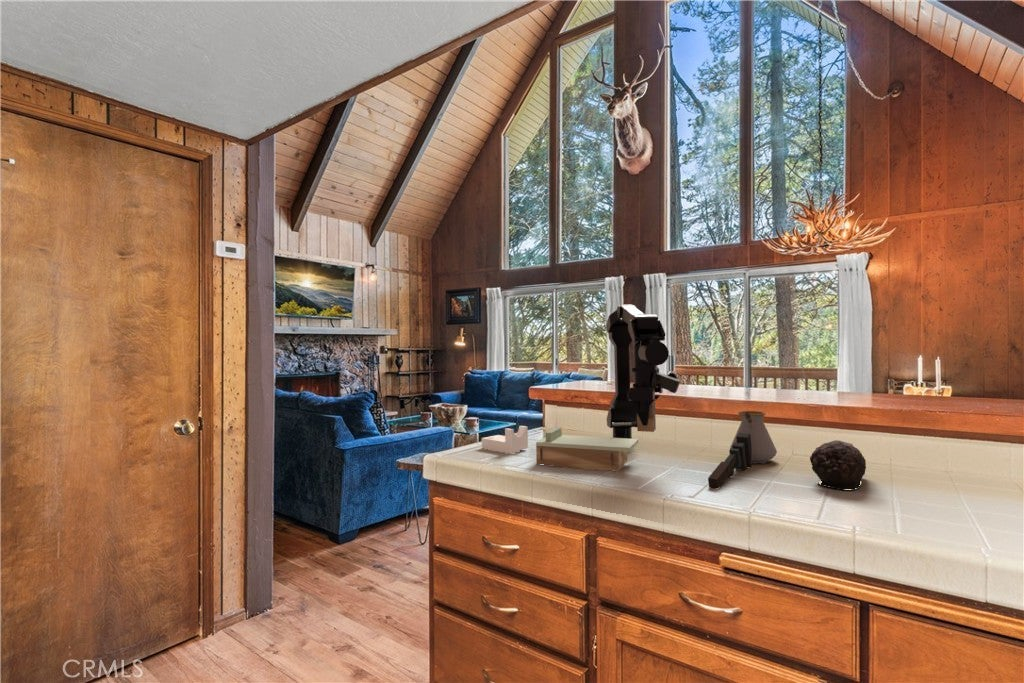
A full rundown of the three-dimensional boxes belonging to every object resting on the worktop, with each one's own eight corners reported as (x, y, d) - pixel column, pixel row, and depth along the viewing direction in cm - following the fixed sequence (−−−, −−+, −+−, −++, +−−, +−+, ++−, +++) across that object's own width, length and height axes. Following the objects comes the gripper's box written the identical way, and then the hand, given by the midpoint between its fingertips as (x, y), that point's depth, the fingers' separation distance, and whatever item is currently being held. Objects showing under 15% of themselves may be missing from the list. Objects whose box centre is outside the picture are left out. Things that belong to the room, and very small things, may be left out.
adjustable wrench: (709, 507, 118) (741, 463, 137) (721, 510, 116) (753, 464, 135) (705, 472, 117) (739, 432, 136) (718, 474, 115) (750, 433, 134)
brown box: (551, 455, 152) (550, 438, 152) (627, 460, 144) (627, 442, 144) (535, 465, 141) (535, 446, 141) (617, 472, 132) (617, 452, 132)
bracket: (528, 451, 160) (527, 426, 160) (511, 455, 155) (511, 429, 155) (498, 445, 169) (497, 422, 169) (481, 449, 164) (481, 425, 164)
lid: (550, 437, 152) (550, 426, 152) (638, 442, 143) (637, 430, 143) (536, 445, 141) (535, 433, 141) (629, 451, 132) (629, 438, 132)
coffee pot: (732, 454, 149) (731, 401, 149) (778, 457, 144) (777, 402, 144) (722, 471, 131) (721, 411, 131) (773, 476, 125) (772, 413, 125)
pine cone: (868, 476, 124) (868, 434, 123) (864, 495, 109) (863, 447, 109) (817, 470, 130) (817, 430, 130) (807, 488, 115) (806, 442, 115)
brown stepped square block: (640, 428, 138) (639, 398, 138) (655, 429, 137) (655, 399, 137) (637, 431, 135) (636, 400, 135) (653, 431, 133) (652, 401, 133)
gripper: (673, 365, 124) (674, 431, 124) (681, 361, 141) (682, 420, 141) (626, 365, 128) (627, 429, 128) (639, 361, 145) (640, 418, 145)
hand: (646, 424), depth 136 cm, fingers closed on brown stepped square block, 4 cm apart
